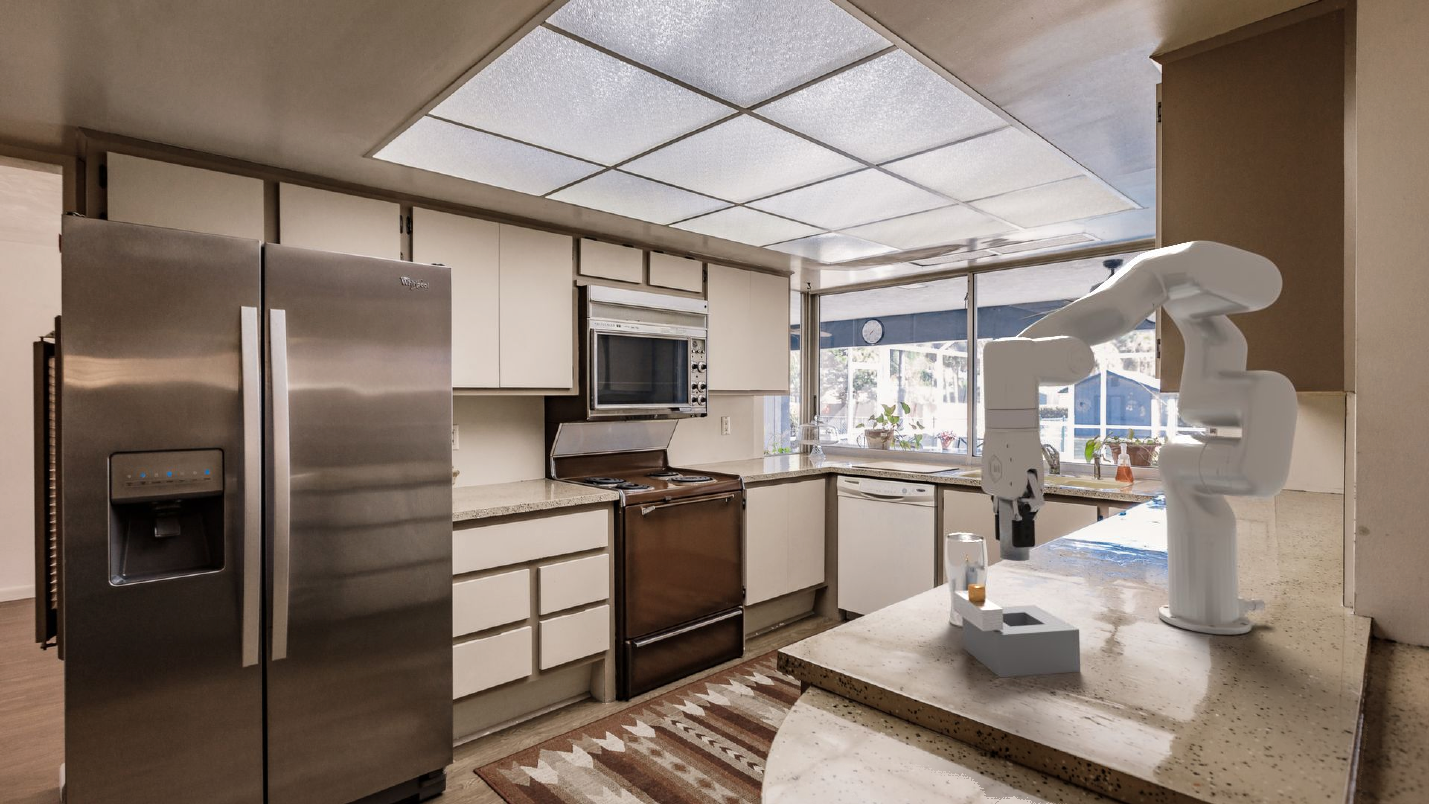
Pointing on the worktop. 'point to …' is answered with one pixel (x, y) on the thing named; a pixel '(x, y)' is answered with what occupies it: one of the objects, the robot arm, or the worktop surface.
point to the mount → (1025, 643)
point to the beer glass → (964, 565)
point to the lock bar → (978, 608)
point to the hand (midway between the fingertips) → (1014, 542)
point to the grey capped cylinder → (1009, 531)
